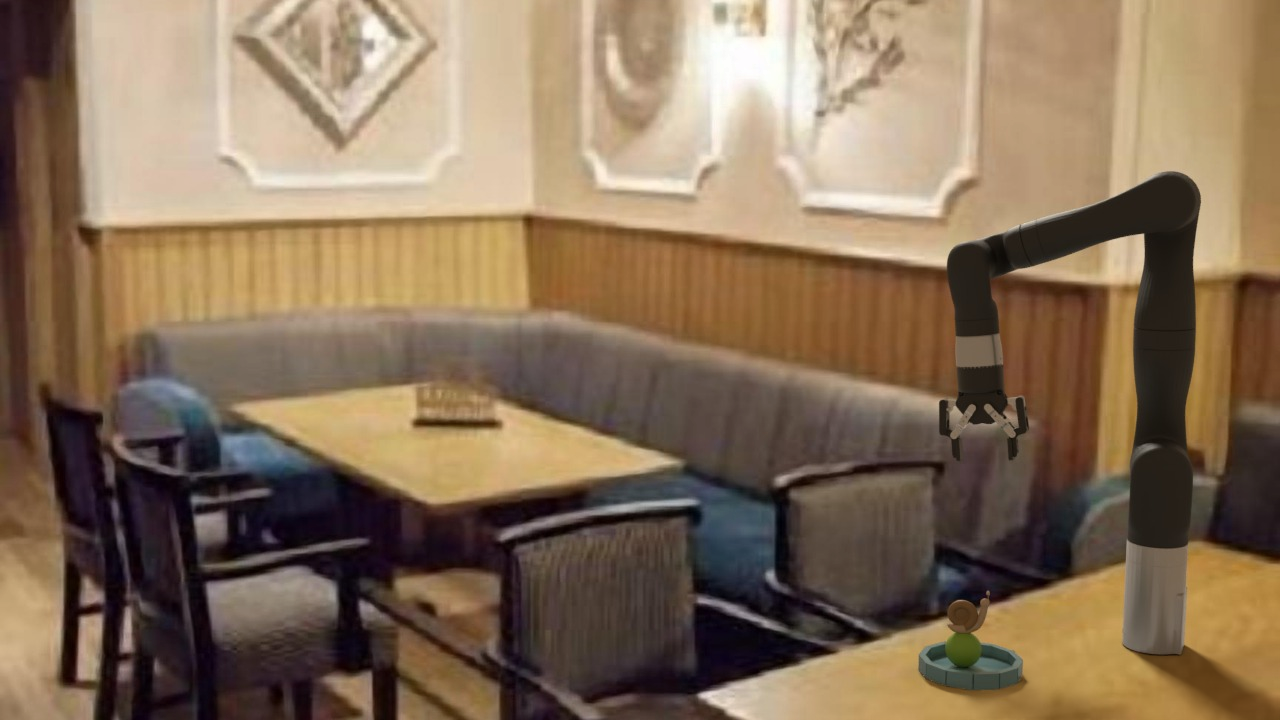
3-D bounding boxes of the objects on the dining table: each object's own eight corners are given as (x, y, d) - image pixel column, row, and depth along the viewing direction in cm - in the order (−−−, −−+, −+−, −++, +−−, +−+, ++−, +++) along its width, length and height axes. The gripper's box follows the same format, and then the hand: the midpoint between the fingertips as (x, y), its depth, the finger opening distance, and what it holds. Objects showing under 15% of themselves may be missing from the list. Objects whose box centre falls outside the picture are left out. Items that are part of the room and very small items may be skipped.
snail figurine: (987, 674, 228) (990, 596, 226) (944, 670, 229) (946, 594, 228) (987, 662, 233) (990, 586, 231) (945, 659, 235) (947, 583, 233)
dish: (1029, 663, 235) (1029, 648, 235) (1010, 695, 221) (1011, 679, 221) (932, 650, 241) (933, 636, 241) (909, 680, 227) (909, 665, 227)
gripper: (931, 366, 248) (937, 464, 249) (1019, 362, 242) (1025, 463, 244) (941, 362, 255) (947, 457, 256) (1027, 358, 249) (1033, 455, 251)
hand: (985, 460), depth 250 cm, fingers open, 8 cm apart
